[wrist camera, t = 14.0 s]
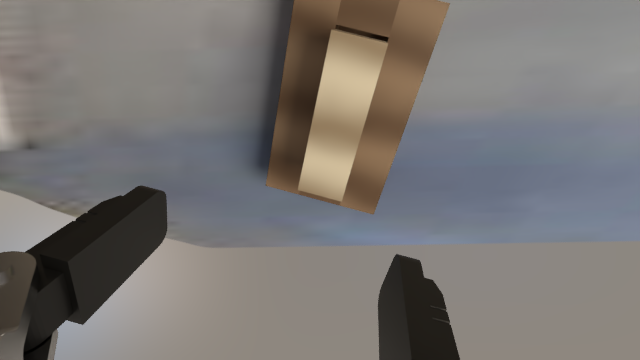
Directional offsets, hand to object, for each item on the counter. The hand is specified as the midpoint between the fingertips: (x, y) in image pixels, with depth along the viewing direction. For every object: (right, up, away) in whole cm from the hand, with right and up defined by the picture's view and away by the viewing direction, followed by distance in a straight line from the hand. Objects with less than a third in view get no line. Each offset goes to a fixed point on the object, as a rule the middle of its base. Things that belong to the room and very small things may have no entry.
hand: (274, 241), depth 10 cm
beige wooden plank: (+4, +10, +21) cm, 23 cm away
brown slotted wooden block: (+4, +10, +21) cm, 24 cm away
